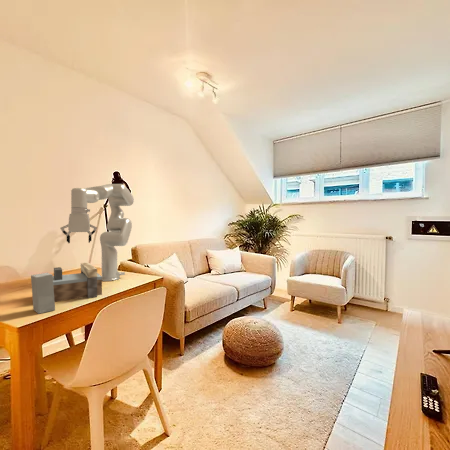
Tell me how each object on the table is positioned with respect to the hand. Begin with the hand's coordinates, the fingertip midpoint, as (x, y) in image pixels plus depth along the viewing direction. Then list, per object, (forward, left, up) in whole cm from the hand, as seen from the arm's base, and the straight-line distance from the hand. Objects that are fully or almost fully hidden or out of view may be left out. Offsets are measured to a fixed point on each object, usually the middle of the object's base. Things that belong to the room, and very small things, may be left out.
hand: (79, 242), depth 141 cm
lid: (+4, +3, -19) cm, 20 cm away
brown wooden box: (+4, +3, -27) cm, 27 cm away
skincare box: (+17, +22, -27) cm, 39 cm away
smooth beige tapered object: (-4, +3, -16) cm, 17 cm away
